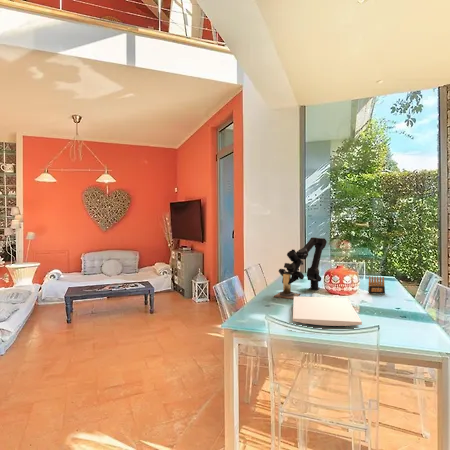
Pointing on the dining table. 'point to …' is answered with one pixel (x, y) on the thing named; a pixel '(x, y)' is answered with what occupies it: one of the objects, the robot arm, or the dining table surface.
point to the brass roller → (286, 283)
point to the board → (324, 311)
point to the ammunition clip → (376, 285)
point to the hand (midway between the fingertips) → (285, 283)
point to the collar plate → (286, 295)
